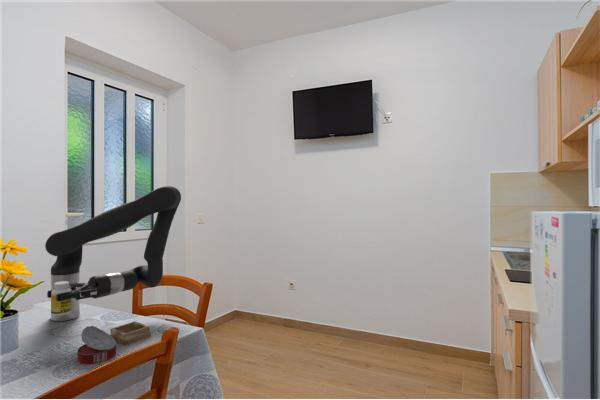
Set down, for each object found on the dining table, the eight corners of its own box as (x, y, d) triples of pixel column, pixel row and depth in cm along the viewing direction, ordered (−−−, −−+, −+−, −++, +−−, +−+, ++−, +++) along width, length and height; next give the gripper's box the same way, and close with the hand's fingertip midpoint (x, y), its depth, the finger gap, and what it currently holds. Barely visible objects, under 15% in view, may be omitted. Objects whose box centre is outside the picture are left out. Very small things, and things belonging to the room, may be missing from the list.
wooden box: (109, 338, 117) (109, 329, 117) (135, 329, 125) (135, 320, 125) (125, 345, 112) (125, 335, 112) (151, 335, 120) (151, 326, 120)
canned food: (101, 364, 109) (115, 330, 114) (115, 371, 103) (129, 335, 107) (63, 358, 102) (79, 322, 106) (75, 365, 96) (93, 327, 100)
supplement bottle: (61, 316, 109) (61, 285, 109) (46, 315, 111) (46, 284, 110) (75, 311, 115) (75, 281, 115) (61, 309, 116) (61, 280, 116)
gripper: (95, 271, 128) (41, 280, 114) (118, 277, 121) (63, 288, 106) (95, 291, 129) (41, 303, 114) (117, 299, 121) (63, 312, 107)
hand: (52, 296), depth 110 cm, fingers closed on supplement bottle, 5 cm apart
